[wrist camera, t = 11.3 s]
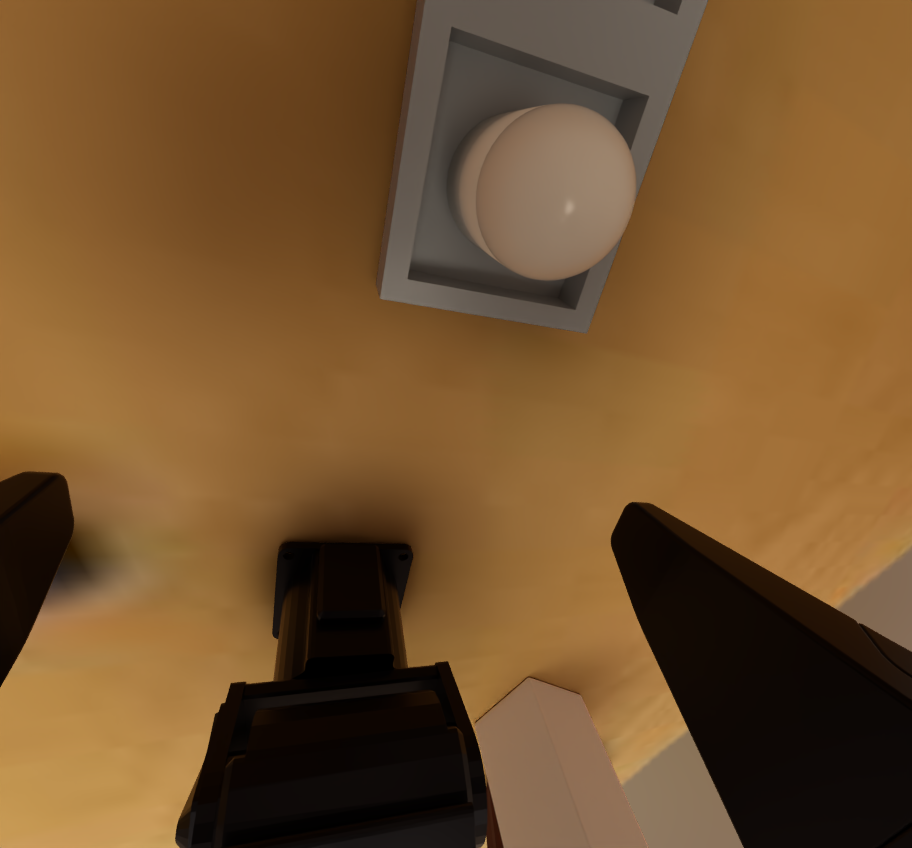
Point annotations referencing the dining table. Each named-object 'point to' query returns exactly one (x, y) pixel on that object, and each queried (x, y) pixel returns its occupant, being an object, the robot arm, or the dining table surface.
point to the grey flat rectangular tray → (505, 90)
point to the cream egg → (543, 189)
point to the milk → (552, 773)
